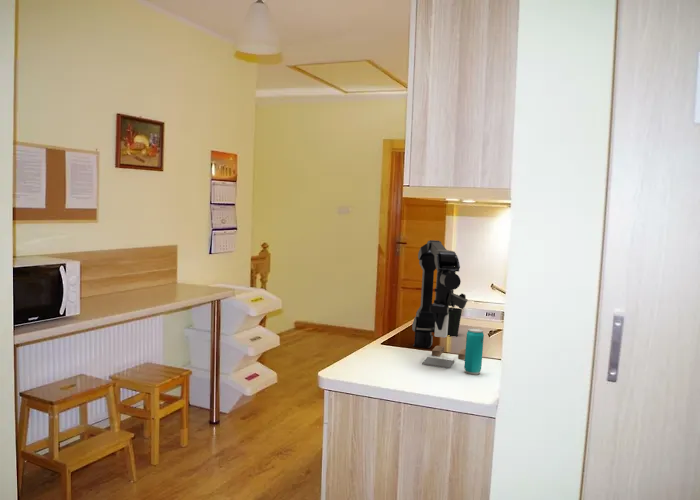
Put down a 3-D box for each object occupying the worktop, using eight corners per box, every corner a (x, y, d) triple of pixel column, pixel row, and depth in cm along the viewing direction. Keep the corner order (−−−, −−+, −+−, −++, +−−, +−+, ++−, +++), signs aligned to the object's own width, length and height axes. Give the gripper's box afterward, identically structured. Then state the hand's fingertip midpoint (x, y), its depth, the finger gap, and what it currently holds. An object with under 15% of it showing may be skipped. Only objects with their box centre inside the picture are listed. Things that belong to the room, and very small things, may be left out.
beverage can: (481, 371, 202) (485, 329, 201) (479, 376, 196) (483, 332, 195) (465, 369, 203) (468, 327, 202) (462, 373, 198) (465, 330, 197)
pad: (421, 364, 207) (421, 362, 207) (427, 358, 216) (427, 356, 216) (449, 368, 203) (449, 366, 203) (454, 362, 213) (454, 360, 213)
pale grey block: (434, 336, 208) (435, 314, 207) (436, 334, 212) (437, 312, 211) (445, 337, 207) (447, 315, 206) (447, 335, 210) (448, 313, 210)
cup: (462, 335, 262) (464, 309, 261) (456, 338, 256) (458, 311, 255) (446, 332, 266) (448, 306, 265) (440, 335, 260) (441, 308, 259)
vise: (431, 355, 221) (432, 350, 221) (436, 350, 230) (436, 345, 229) (478, 361, 215) (478, 356, 215) (481, 356, 224) (481, 351, 224)
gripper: (463, 291, 197) (459, 336, 198) (470, 285, 214) (467, 327, 215) (430, 287, 200) (427, 332, 201) (440, 282, 218) (437, 323, 219)
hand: (441, 328), depth 209 cm, fingers closed on pale grey block, 4 cm apart
